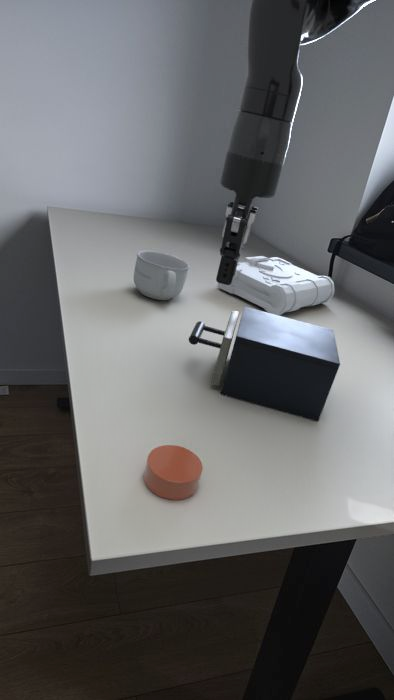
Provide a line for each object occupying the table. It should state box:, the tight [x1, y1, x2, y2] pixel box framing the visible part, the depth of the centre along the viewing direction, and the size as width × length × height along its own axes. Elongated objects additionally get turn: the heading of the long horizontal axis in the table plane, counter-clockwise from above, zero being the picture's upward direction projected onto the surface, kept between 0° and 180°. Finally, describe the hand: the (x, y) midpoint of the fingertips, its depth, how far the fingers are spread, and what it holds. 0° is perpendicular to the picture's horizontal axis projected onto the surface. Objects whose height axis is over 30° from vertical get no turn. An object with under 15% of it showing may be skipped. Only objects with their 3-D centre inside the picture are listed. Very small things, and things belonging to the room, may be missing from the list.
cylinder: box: [143, 444, 204, 501], centre depth 53 cm, size 6×6×2 cm
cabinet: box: [220, 306, 341, 422], centre depth 75 cm, size 15×13×10 cm
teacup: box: [133, 250, 191, 301], centre depth 100 cm, size 14×11×8 cm
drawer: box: [188, 309, 240, 387], centre depth 75 cm, size 18×11×8 cm, turn 80°
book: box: [216, 255, 336, 316], centre depth 118 cm, size 19×28×8 cm
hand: (225, 278), depth 71 cm, fingers open, 3 cm apart
